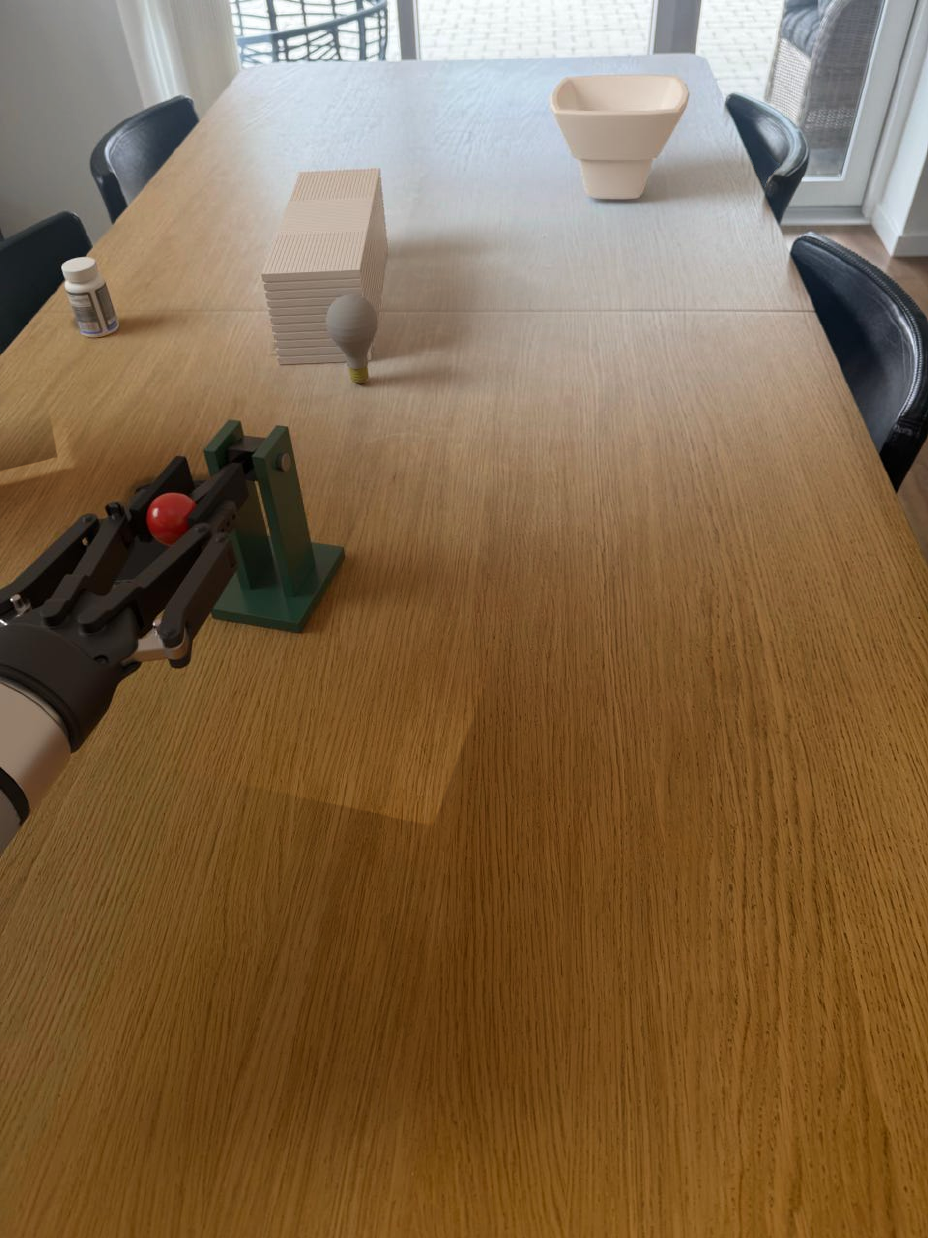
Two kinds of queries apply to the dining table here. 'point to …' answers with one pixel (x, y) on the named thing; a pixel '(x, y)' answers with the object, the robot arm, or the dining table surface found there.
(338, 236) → the beige tall block
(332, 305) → the light bulb
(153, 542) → the phone
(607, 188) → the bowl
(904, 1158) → the dining table surface
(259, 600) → the switch bracket
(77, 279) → the pill bottle
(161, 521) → the switch lever
